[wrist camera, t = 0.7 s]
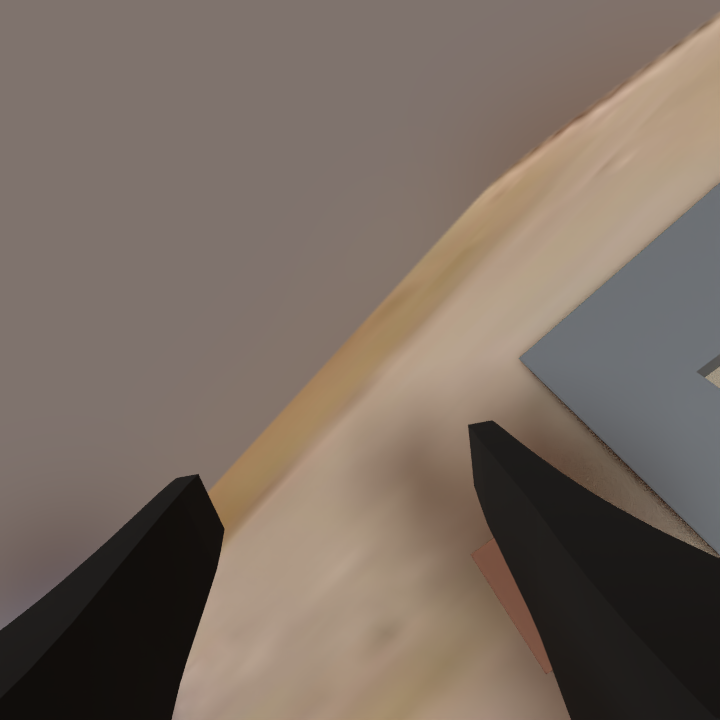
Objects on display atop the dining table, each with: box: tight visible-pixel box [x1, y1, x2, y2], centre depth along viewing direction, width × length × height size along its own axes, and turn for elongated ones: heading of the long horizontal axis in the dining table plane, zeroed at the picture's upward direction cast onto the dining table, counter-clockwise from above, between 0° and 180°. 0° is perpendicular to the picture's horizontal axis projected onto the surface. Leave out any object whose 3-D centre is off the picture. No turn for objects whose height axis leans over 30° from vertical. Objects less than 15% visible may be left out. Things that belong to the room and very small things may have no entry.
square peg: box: [471, 538, 553, 674], centre depth 17 cm, size 4×4×6 cm
